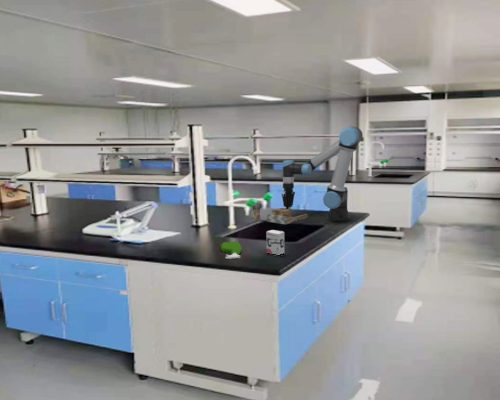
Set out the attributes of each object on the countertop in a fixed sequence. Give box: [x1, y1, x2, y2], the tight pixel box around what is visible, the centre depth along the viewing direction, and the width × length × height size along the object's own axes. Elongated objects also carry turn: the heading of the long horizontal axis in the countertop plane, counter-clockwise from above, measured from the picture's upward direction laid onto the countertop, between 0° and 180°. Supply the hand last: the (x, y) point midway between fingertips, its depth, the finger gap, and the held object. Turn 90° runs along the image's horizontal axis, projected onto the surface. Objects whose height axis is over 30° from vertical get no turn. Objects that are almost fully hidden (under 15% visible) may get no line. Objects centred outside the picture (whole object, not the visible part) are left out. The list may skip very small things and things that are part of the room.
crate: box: [271, 207, 292, 218], centre depth 311 cm, size 9×9×8 cm
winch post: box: [251, 202, 262, 222], centre depth 316 cm, size 6×4×14 cm
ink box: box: [265, 229, 285, 256], centre depth 231 cm, size 8×5×12 cm, turn 48°
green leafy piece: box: [220, 241, 243, 260], centre depth 236 cm, size 3×11×24 cm
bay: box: [266, 213, 309, 225], centre depth 316 cm, size 16×26×5 cm, turn 138°
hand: (288, 216), depth 317 cm, fingers closed
